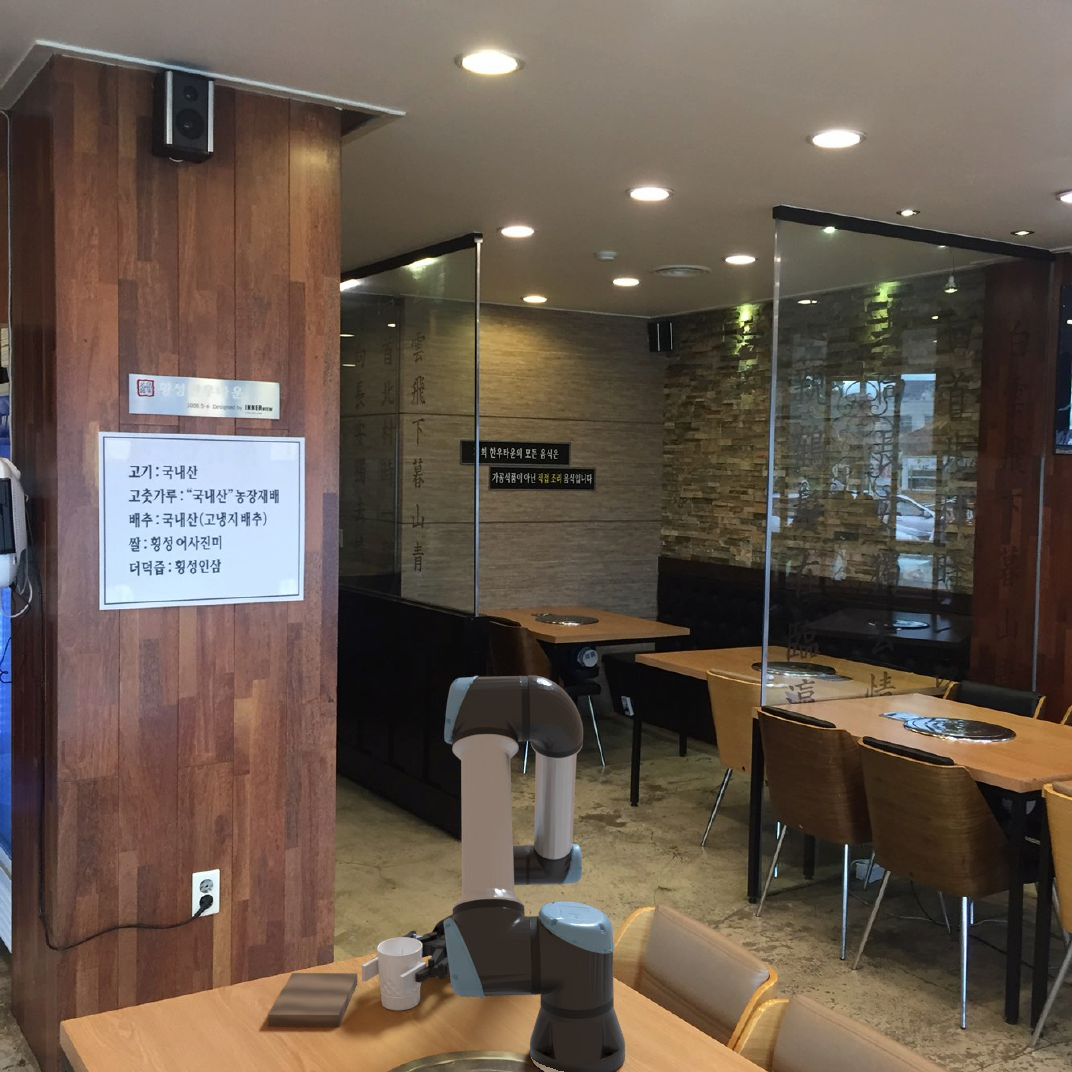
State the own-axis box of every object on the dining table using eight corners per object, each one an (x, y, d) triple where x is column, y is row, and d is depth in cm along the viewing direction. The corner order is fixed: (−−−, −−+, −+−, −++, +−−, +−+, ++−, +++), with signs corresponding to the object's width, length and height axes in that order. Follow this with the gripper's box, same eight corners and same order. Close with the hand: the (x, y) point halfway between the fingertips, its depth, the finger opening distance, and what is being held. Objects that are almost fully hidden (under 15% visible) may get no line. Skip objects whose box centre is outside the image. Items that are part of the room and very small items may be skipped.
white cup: (415, 1014, 188) (414, 957, 188) (371, 1010, 190) (370, 953, 190) (428, 993, 196) (428, 938, 196) (386, 990, 198) (385, 935, 197)
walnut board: (339, 1026, 184) (338, 1014, 184) (268, 1026, 185) (268, 1014, 185) (357, 984, 200) (357, 973, 200) (292, 983, 201) (292, 973, 201)
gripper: (505, 964, 203) (430, 1014, 183) (417, 941, 214) (337, 986, 194) (504, 924, 202) (429, 970, 183) (416, 903, 213) (336, 945, 194)
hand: (382, 978), depth 189 cm, fingers closed on white cup, 8 cm apart
